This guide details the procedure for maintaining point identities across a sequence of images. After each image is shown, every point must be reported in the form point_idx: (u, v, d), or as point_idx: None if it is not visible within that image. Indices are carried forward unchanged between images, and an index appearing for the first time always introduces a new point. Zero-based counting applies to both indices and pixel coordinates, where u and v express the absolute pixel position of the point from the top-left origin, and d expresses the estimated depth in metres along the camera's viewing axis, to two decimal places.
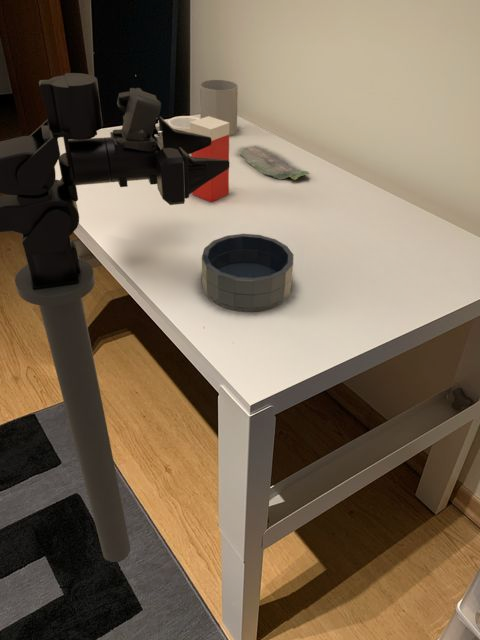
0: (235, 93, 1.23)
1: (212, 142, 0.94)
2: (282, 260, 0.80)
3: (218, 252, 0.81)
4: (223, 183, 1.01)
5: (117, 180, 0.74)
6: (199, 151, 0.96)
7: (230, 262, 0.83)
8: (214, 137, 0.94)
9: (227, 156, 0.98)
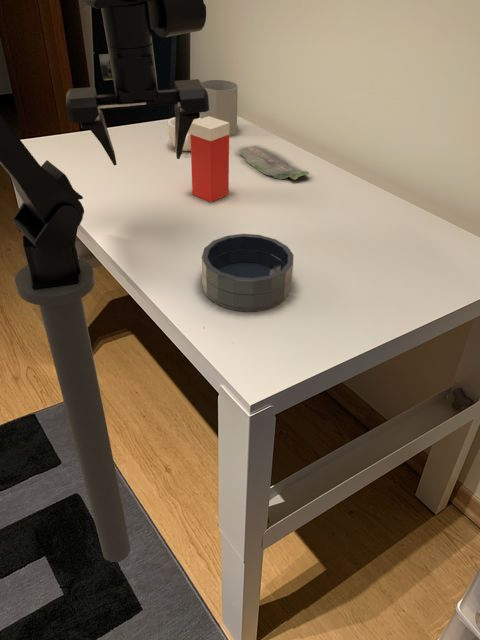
0: (235, 93, 1.23)
1: (212, 142, 0.94)
2: (282, 260, 0.80)
3: (218, 252, 0.81)
4: (223, 183, 1.01)
5: (147, 53, 0.71)
6: (199, 151, 0.96)
7: (230, 262, 0.83)
8: (214, 137, 0.94)
9: (227, 156, 0.98)
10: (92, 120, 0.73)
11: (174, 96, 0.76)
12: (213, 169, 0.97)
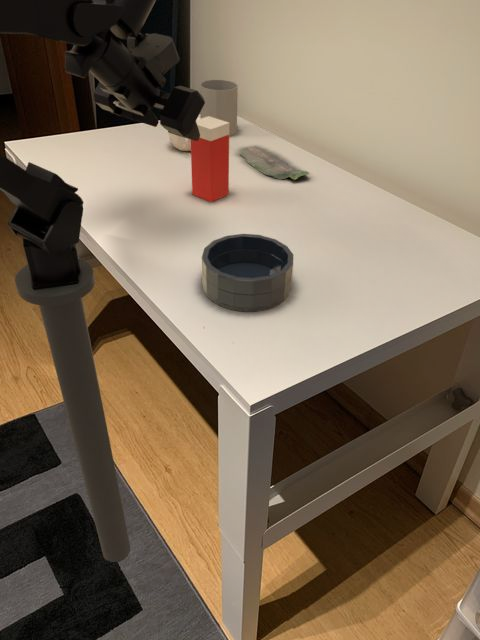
0: (235, 93, 1.23)
1: (212, 142, 0.94)
2: (282, 260, 0.80)
3: (218, 252, 0.81)
4: (223, 183, 1.01)
5: (121, 88, 0.75)
6: (199, 151, 0.96)
7: (230, 262, 0.83)
8: (214, 137, 0.94)
9: (227, 156, 0.98)
10: (112, 111, 0.86)
11: None
12: (213, 169, 0.97)
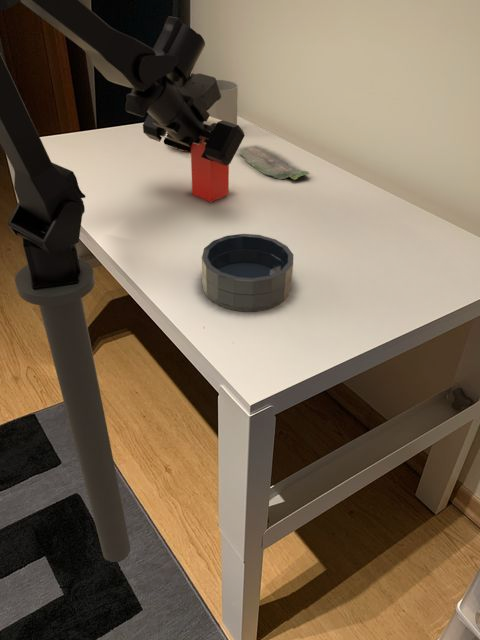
0: (235, 93, 1.23)
1: None
2: (282, 260, 0.80)
3: (218, 252, 0.81)
4: (223, 183, 1.01)
5: (173, 123, 0.86)
6: (199, 151, 0.96)
7: (230, 262, 0.83)
8: None
9: None
10: None
11: None
12: (213, 169, 0.97)
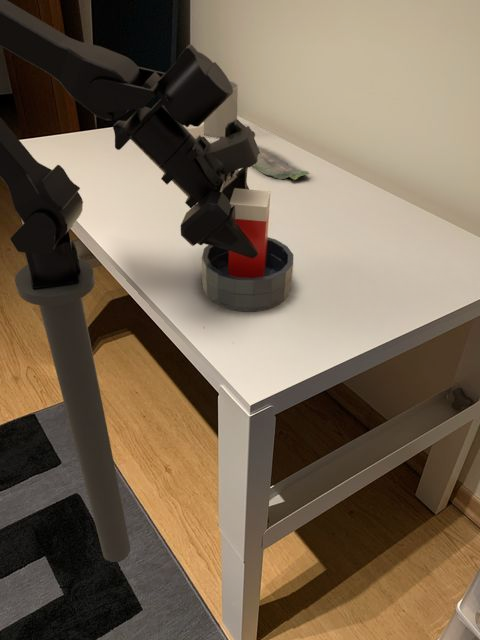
0: (235, 93, 1.23)
1: None
2: (282, 260, 0.80)
3: (218, 252, 0.81)
4: (252, 276, 0.76)
5: (164, 172, 0.68)
6: None
7: None
8: (236, 216, 0.71)
9: (261, 247, 0.73)
10: None
11: None
12: (233, 253, 0.74)
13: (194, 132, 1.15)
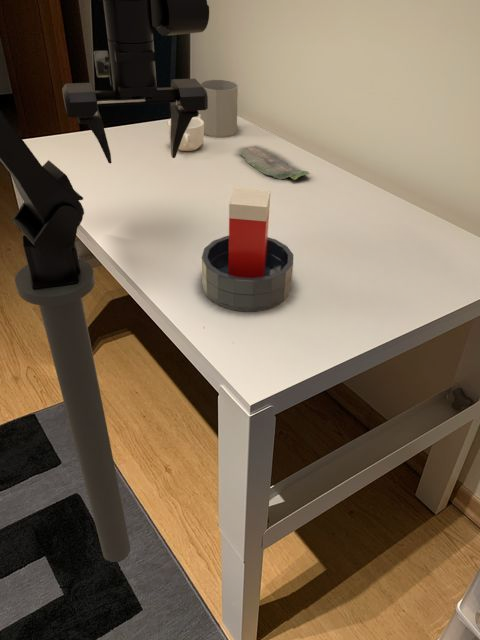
0: (235, 93, 1.23)
1: (232, 220, 0.71)
2: (282, 260, 0.80)
3: (218, 252, 0.81)
4: (252, 276, 0.76)
5: (149, 49, 0.70)
6: None
7: None
8: (236, 216, 0.71)
9: (261, 247, 0.73)
10: (91, 115, 0.72)
11: (172, 93, 0.76)
12: (233, 253, 0.74)
13: (194, 132, 1.15)
